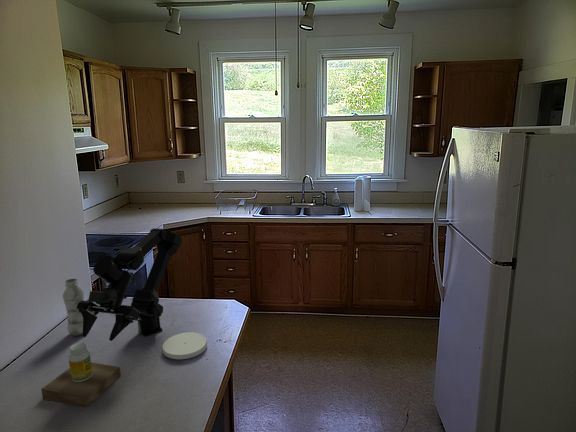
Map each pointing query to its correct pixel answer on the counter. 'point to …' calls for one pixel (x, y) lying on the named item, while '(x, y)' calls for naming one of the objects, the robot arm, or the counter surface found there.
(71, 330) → the plastic bottle
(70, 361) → the supplement bottle
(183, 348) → the plastic lid
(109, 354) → the counter surface
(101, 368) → the walnut plinth
